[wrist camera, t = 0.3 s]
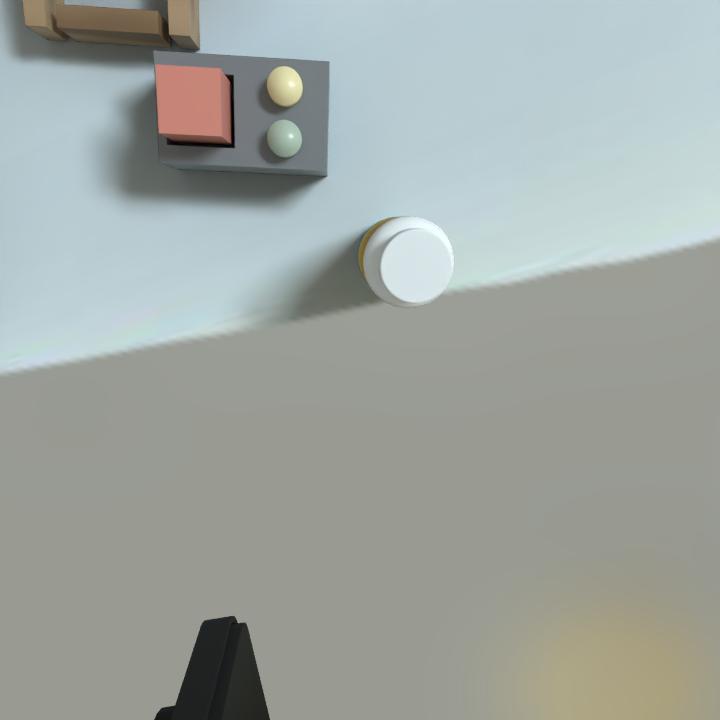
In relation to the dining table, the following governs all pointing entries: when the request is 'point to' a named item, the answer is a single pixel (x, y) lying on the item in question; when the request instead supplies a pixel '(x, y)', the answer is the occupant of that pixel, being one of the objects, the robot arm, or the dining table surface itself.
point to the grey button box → (260, 116)
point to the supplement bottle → (406, 261)
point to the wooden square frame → (115, 23)
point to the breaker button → (194, 104)
